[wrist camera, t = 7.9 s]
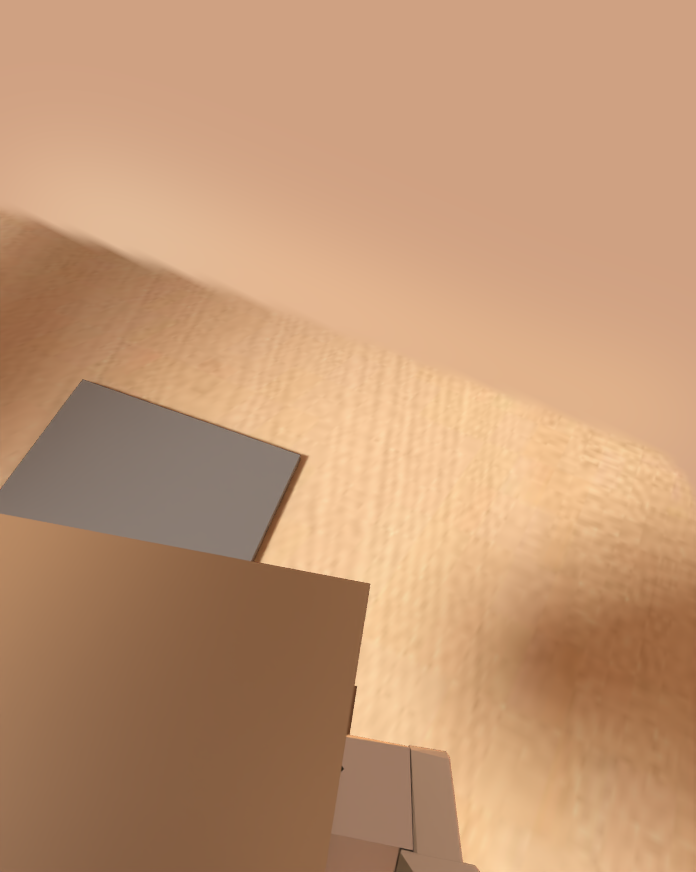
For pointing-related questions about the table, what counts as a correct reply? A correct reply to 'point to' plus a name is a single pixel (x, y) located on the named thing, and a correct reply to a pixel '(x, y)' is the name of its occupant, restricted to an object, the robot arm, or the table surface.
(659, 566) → the table surface
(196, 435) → the mat
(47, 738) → the banded square pillar
